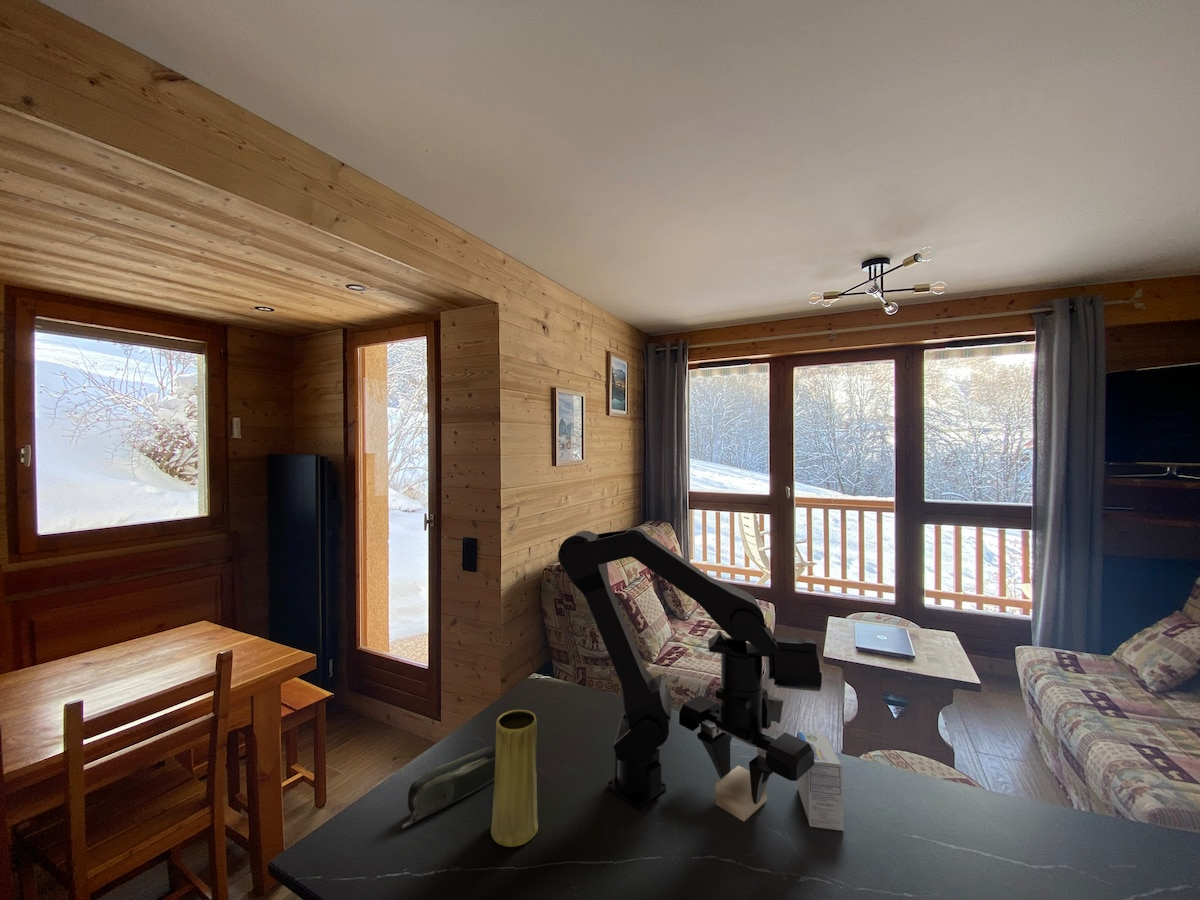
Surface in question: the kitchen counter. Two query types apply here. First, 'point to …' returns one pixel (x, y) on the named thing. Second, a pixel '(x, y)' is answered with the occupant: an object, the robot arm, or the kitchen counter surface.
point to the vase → (515, 779)
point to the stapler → (450, 783)
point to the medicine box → (822, 784)
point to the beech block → (737, 794)
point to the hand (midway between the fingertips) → (741, 793)
